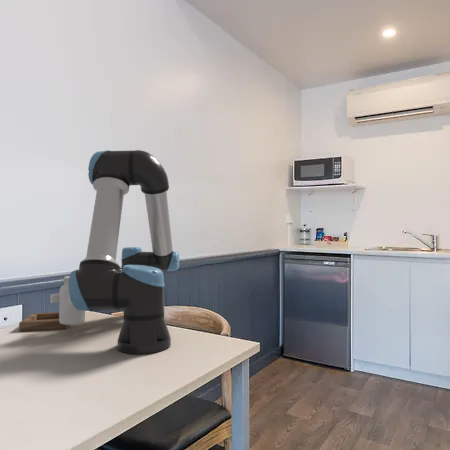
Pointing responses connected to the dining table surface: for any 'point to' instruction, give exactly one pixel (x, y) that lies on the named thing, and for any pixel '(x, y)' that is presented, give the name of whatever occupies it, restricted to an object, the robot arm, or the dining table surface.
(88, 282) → the robot arm
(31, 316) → the tray
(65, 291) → the pill bottle
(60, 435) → the dining table surface
